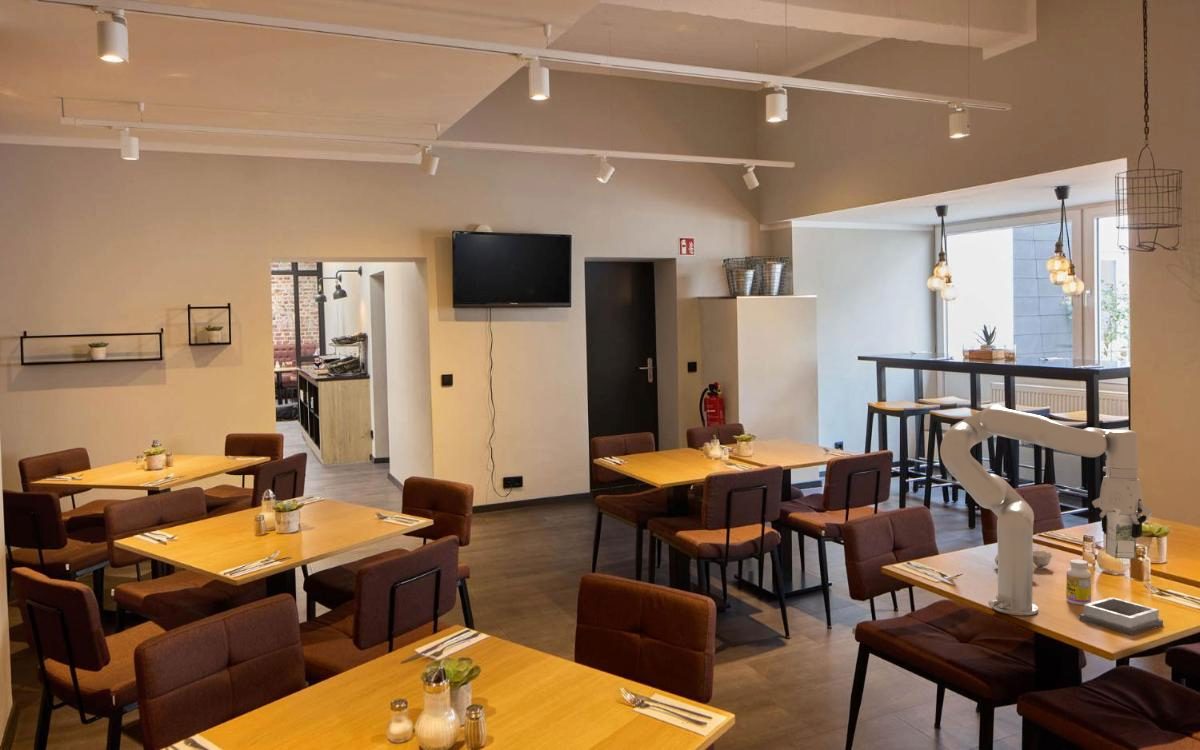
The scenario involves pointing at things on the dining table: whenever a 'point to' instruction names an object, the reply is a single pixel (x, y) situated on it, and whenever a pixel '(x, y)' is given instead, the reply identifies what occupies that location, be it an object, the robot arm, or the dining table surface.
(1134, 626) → the pocket base
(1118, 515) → the syrup box
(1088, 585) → the supplement bottle
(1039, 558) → the chinaware
